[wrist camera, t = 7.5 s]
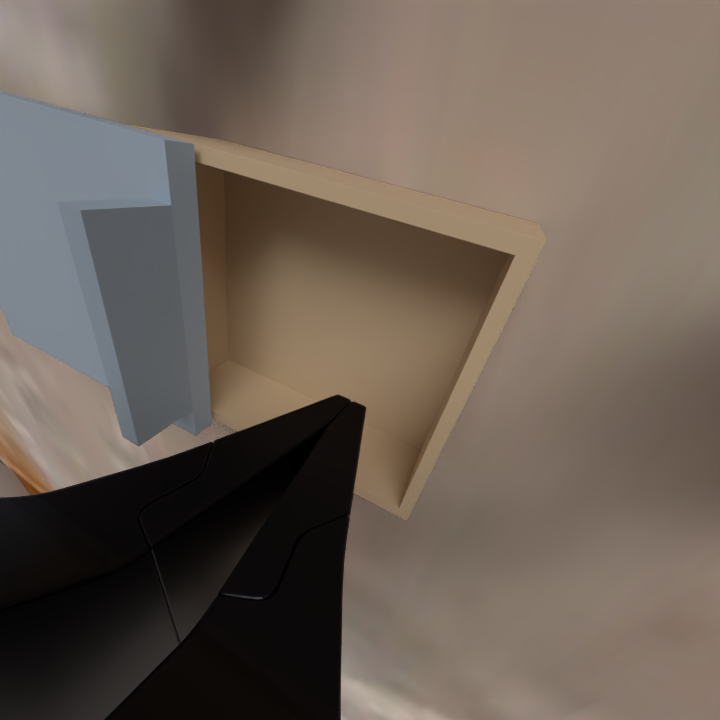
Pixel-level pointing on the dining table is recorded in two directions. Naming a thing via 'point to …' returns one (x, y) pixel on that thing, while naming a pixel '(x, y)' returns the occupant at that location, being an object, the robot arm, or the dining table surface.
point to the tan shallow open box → (350, 302)
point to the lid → (106, 259)
